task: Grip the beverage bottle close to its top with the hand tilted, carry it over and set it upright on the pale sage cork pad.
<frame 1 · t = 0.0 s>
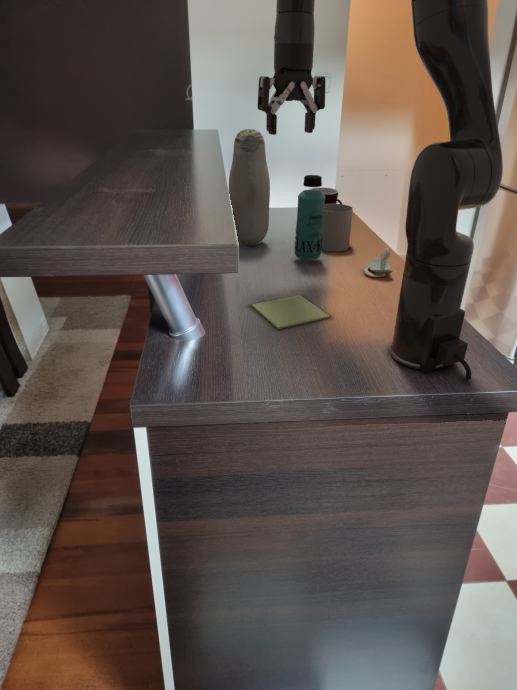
hand: (290, 133, 105), 29 cm above the worktop, tool pointing down, fingers open, 8 cm apart
coffee mug: (322, 227, 149), on the worktop
beverage bottle: (307, 261, 124), on the worktop
pad: (289, 311, 99), on the worktop
cup: (332, 246, 134), on the worktop
grey rounded tall figure: (249, 244, 135), on the worktop
pacifier: (377, 274, 117), on the worktop
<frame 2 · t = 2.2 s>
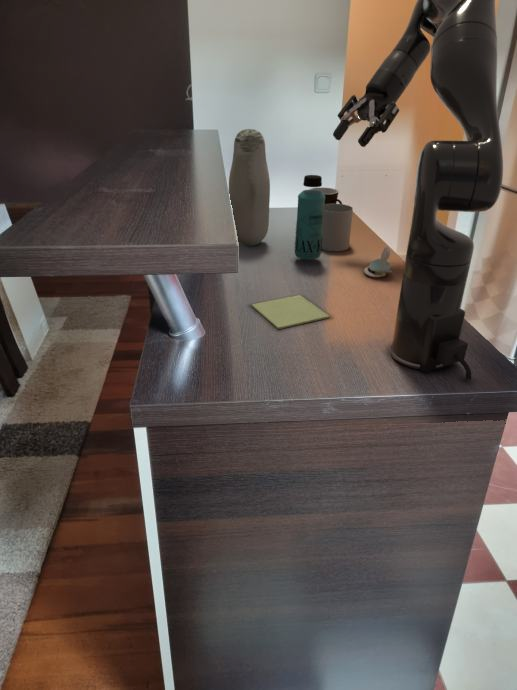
hand: (347, 141, 115), 27 cm above the worktop, tool tilted 40°, fingers open, 8 cm apart
nothing on the worktop moved.
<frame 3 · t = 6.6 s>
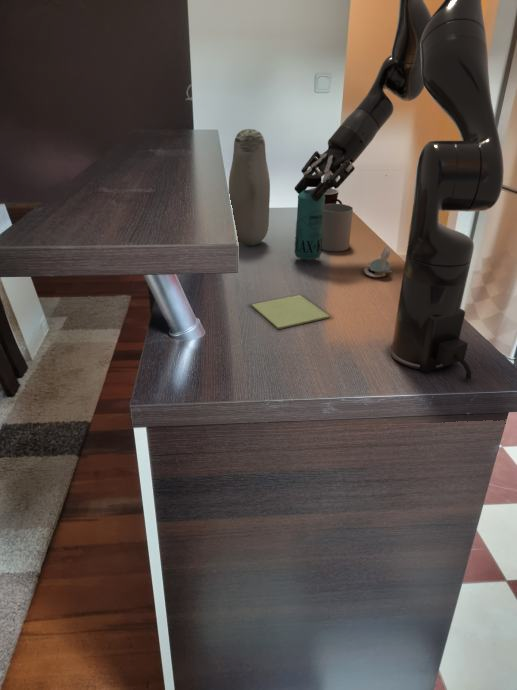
hand: (305, 195, 116), 16 cm above the worktop, tool tilted 45°, fingers closed on beverage bottle, 6 cm apart
beverage bottle: (307, 261, 124), on the worktop, touching gripper
everything else where it was.
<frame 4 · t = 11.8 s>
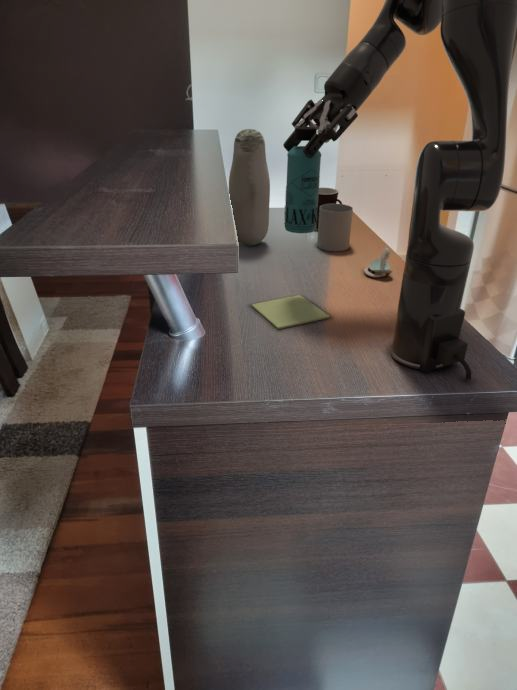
hand: (296, 151, 93), 28 cm above the worktop, tool tilted 45°, fingers closed on beverage bottle, 6 cm apart
beverage bottle: (300, 237, 101), point 12 cm above the worktop, touching gripper
everything else where it was.
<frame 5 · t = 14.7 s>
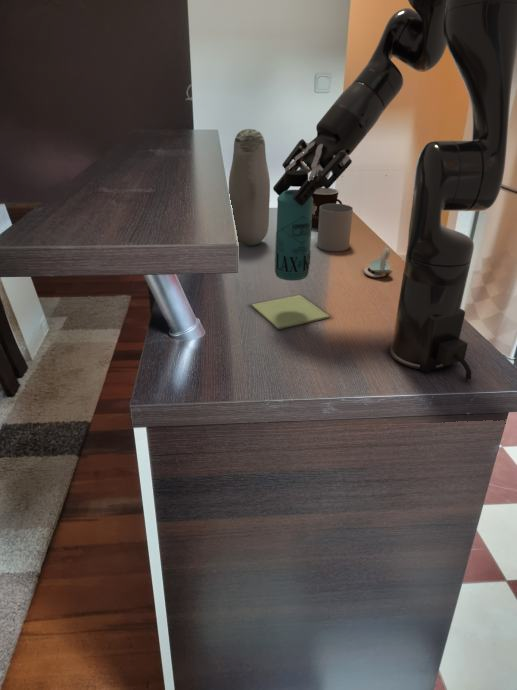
hand: (286, 197, 88), 22 cm above the worktop, tool tilted 45°, fingers closed on beverage bottle, 6 cm apart
beverage bottle: (291, 282, 96), point 6 cm above the worktop, touching gripper
everything else where it was.
when the fingers open (16 cm above the worktop, at t = 17.0 s): beverage bottle stays where it is, resting on pad.
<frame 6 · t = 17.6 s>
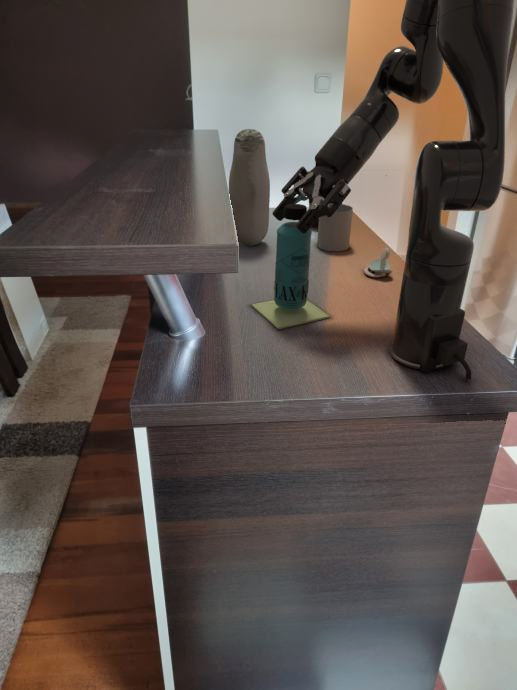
hand: (287, 223, 90), 17 cm above the worktop, tool tilted 45°, fingers open, 8 cm apart
beverage bottle: (290, 310, 99), resting on pad
everything else where it was.
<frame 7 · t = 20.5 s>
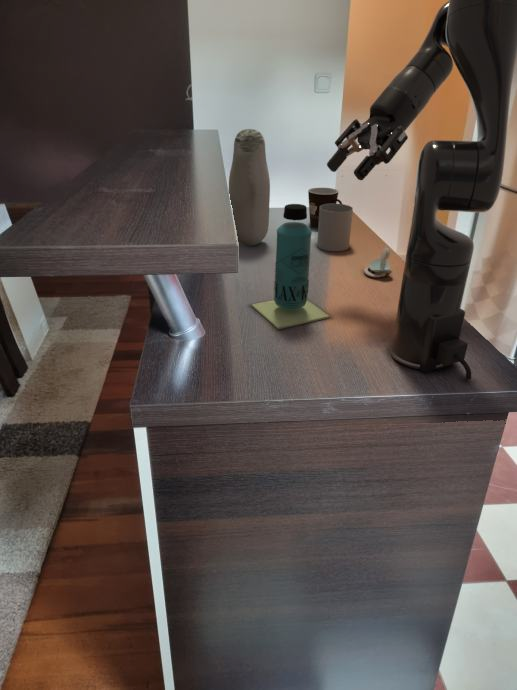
hand: (343, 172, 93), 25 cm above the worktop, tool tilted 45°, fingers open, 8 cm apart
nothing on the worktop moved.
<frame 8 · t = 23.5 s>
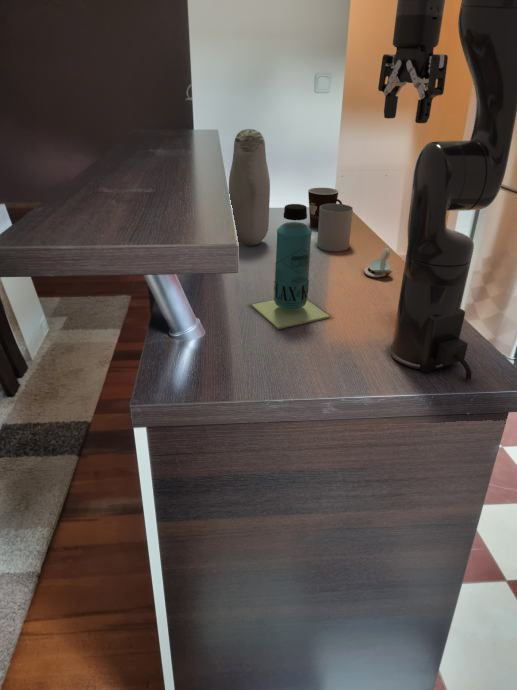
hand: (404, 120, 93), 33 cm above the worktop, tool pointing down, fingers open, 8 cm apart
nothing on the worktop moved.
at the end: beverage bottle inside the target area on the pad (0.2 cm from its centre), point 0.2 cm above the pad's base; beverage bottle tilted 0°; the gripper is holding nothing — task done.
